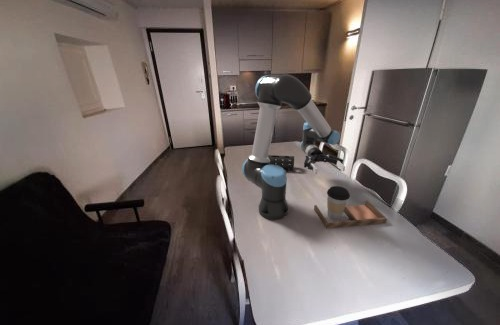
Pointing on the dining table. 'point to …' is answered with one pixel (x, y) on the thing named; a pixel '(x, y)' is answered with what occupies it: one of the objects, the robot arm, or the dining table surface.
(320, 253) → the dining table surface
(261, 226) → the dining table surface
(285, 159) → the muzzle brake
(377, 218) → the divided wooden tray
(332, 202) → the coffee cup
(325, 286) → the dining table surface
